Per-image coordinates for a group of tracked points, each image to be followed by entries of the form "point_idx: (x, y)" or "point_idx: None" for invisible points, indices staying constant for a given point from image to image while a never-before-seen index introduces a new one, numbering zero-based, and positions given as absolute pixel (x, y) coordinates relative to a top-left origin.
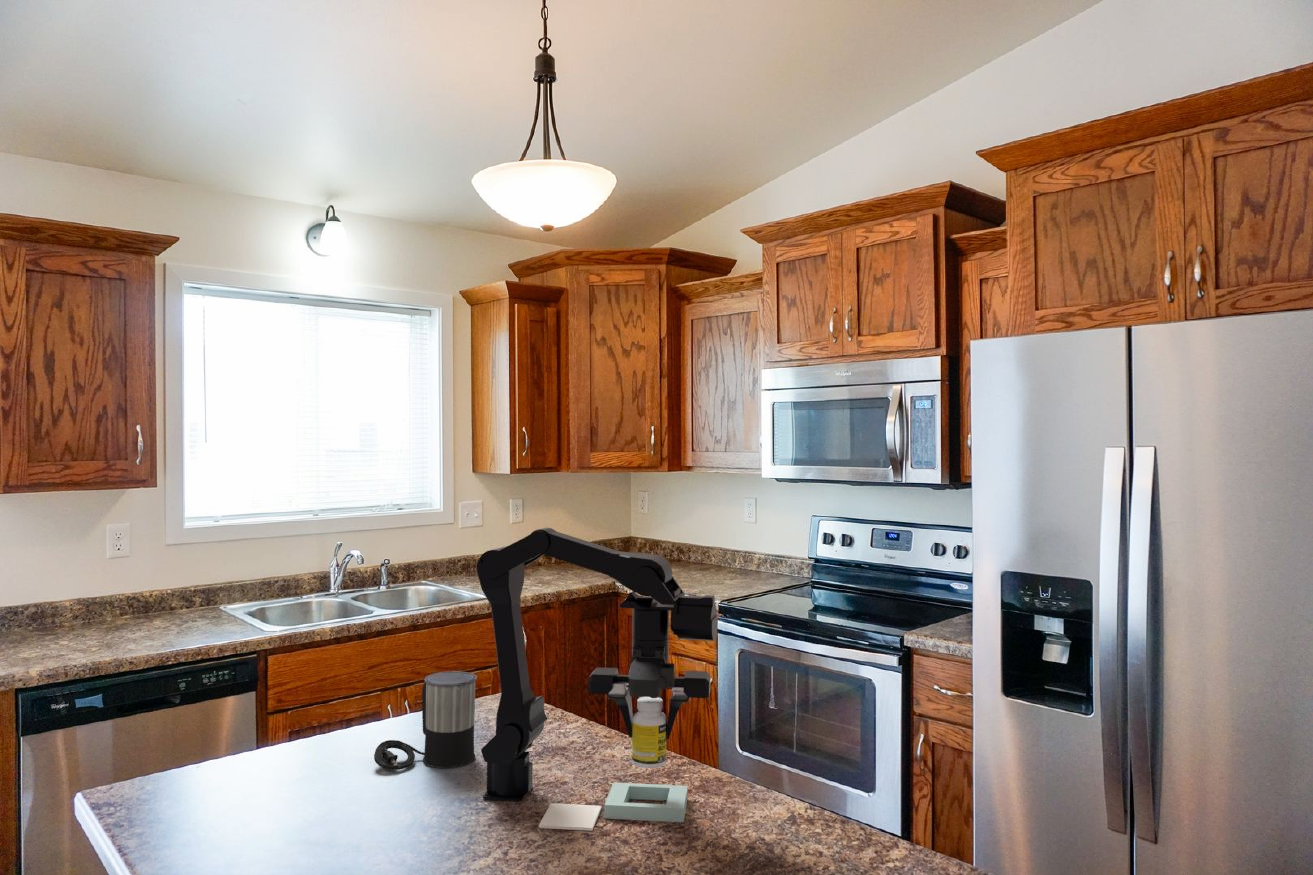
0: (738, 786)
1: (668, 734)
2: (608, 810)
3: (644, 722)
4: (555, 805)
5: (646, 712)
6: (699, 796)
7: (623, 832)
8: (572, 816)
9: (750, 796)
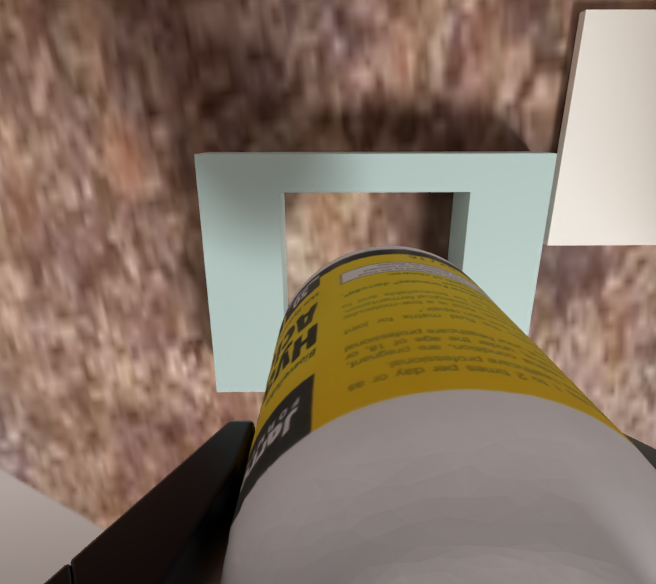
0: (69, 479)
1: (222, 438)
2: (527, 152)
3: (542, 428)
4: None
5: None
6: (187, 388)
7: (445, 14)
8: None
9: (9, 409)
